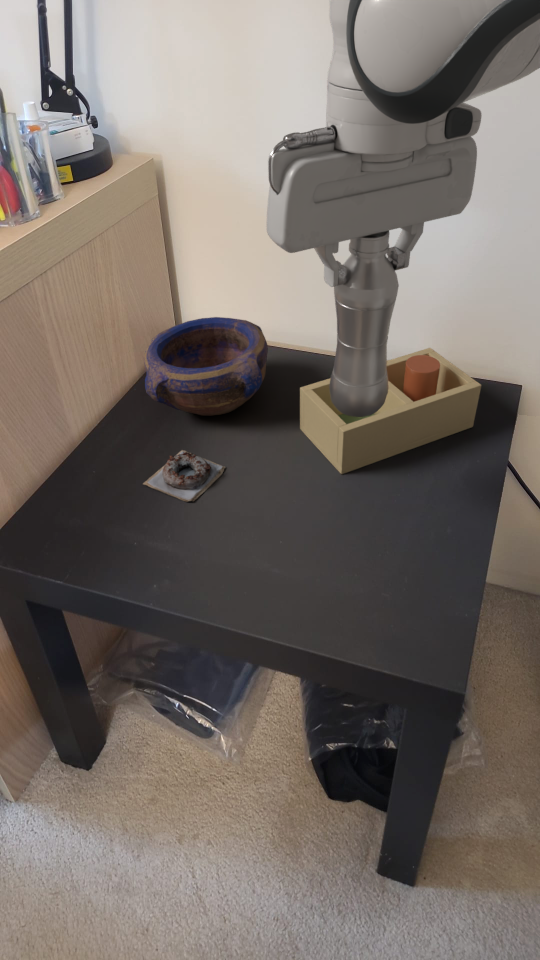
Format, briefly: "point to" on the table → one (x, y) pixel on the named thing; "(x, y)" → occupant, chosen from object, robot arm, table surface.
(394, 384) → the divided box
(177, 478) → the donut
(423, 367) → the orange cylinder
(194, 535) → the table surface
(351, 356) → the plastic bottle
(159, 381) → the bowl
